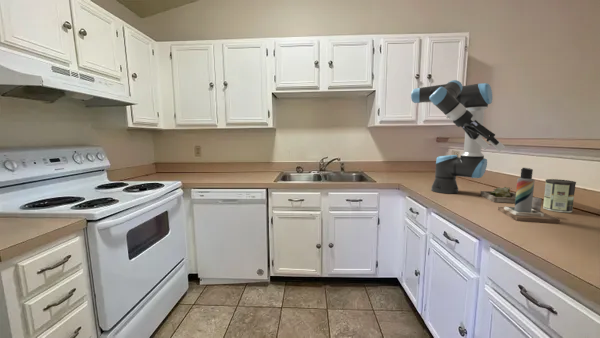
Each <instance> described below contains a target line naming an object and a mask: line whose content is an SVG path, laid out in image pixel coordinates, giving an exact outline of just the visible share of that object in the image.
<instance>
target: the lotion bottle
mask: <svg viewBox="0 0 600 338" xmlns="http://www.w3.org/2000/svg"><path fill="white" fill-rule="evenodd" d="M533 173H534V170H533V169H532V168H528V167H522V168H521V170H520V177H518V178H517V179H516V180H517V181H516V190H515V193H516V199H515V203H514V207H515V209H514V211H516V212H526V213H531V209H532V200H533V197H534V190H535V183H536V182H535V179H534V178H533Z"/></svg>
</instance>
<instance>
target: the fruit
mask: <svg viewBox="0 0 600 338" xmlns="http://www.w3.org/2000/svg"><path fill="white" fill-rule="evenodd" d="M510 190H513V189H512V187H511V188H510V187H506V186H504V187H496V188H494V189H492V190H491V195H493V196H495V197H505V198H511V197H510V192H511V191H510Z"/></svg>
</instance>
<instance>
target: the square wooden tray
mask: <svg viewBox="0 0 600 338" xmlns="http://www.w3.org/2000/svg"><path fill="white" fill-rule="evenodd" d="M491 191H492V190H491ZM491 191H487V190H486V191H485V190H480V196H481V197H482V198H485V199H487V200H489V201H491V202H492V203H501V204H502V203H503V204H504V203H506V204H515V199H516V192H514V191H510V198H505V197H495V196H493V195H491Z"/></svg>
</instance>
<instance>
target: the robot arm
mask: <svg viewBox="0 0 600 338" xmlns="http://www.w3.org/2000/svg"><path fill="white" fill-rule="evenodd" d="M410 98H411V101H412V103H414V104H420V103H430V104H431V103H432V104H433V105H434V106H435V107H436V108H438V109H439V110H440V111H441V112H442V113H443V114H444V115H445V116H446V119H449V121H452V123H453V124H454V126H456V127H458V128H460V127H461V128H462V130H463V131H464V142H463V152H462V153H461V154H460V157H459V156H458V155H457V154H449V155H448V154H447V155H439V156H437V157H436V159H435V160H436V162H435V174H434V175H435V176H434V180H433V182H432V185H431V191H432V192H433V193H434V192H435V193H439V194H458V193H459V187H458V183H457V177H462V178H463V177H464V178H470V179H473V178H474V179H480V178H482V177H483V176H484V175H485V173H486V170H487V168H488V159H487V158H485V155H484V154H483V153H482V149H483V150H484V151H486V150H487V149H488V148H490V147H491V146H493V147H494V149H496V151H498V152H499V153H500V152H501V151H503V150H504V149H506V146H505V145H504V144H503V143H502V142H501V141H500V140H499V139H498V138H496V137H495V136H496V133H493V132H492V131H491V130H490V129H488V128H487V127H486V126H484V122H485V121H484V120H485V118H484V117H485V111H486V110H487V109H488V107H489V105H491V104H492V103H493V90H492V87H491V84H489V83H488V82H487V83H485V82H484V83H474V84H473V83H472V84H468V85H467V84H466V85H463V83H462V82H460V80H457V79H454V80H450V81H448V82H447V83H445V84H437V85H431V86H424V87H418V88H413V89H412V90H411V94H410ZM485 139H486V140H485ZM490 144H491V145H490Z"/></svg>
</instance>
